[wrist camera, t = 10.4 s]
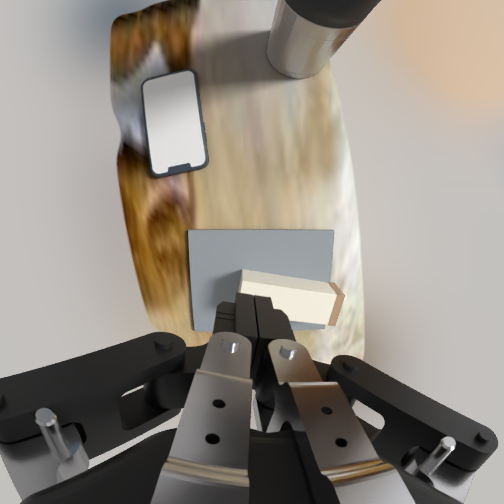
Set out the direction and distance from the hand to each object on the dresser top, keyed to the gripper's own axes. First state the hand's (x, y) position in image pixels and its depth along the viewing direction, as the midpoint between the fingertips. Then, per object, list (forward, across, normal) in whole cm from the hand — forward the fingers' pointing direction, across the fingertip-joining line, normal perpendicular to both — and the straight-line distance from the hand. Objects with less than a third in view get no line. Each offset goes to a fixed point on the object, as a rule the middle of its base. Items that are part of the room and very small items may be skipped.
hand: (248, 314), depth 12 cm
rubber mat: (+31, -5, +10) cm, 33 cm away
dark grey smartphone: (+32, +12, -12) cm, 36 cm away
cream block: (+28, -1, +10) cm, 30 cm away
